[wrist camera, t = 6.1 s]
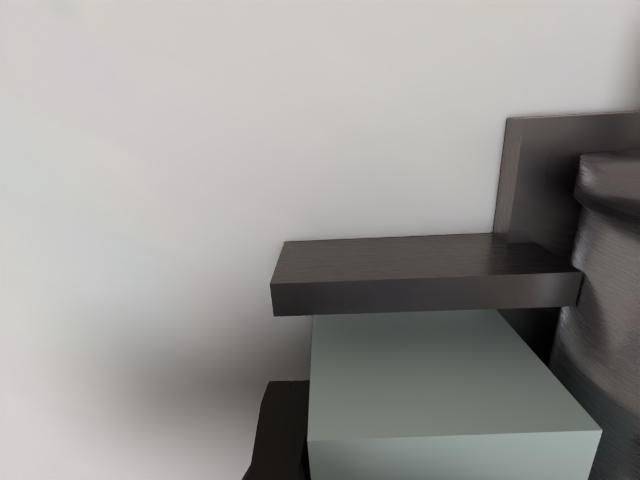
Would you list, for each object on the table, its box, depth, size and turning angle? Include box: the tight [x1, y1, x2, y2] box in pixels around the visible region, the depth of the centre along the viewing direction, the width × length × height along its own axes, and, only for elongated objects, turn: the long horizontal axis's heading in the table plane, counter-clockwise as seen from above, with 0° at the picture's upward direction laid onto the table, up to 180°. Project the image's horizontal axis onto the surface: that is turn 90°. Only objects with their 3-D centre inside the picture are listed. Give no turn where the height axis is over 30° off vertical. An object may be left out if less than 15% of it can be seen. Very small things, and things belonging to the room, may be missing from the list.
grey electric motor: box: [270, 111, 640, 480], centre depth 8 cm, size 17×12×6 cm
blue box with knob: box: [307, 309, 603, 480], centre depth 8 cm, size 5×5×6 cm
